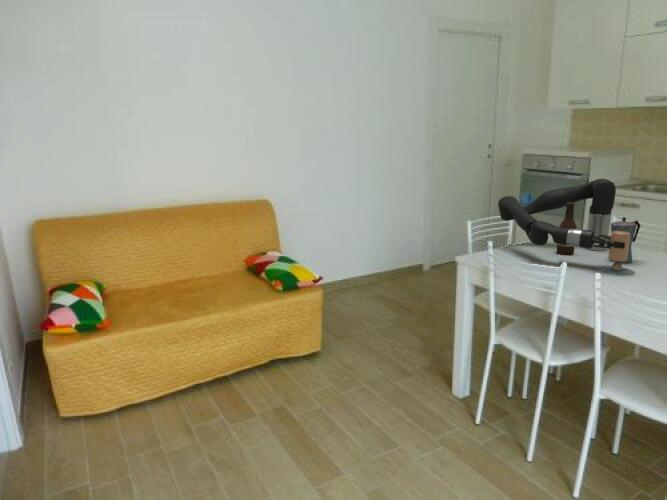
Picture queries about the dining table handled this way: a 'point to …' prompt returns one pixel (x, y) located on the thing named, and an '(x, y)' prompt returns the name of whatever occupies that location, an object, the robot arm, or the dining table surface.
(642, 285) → the dining table surface
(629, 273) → the plate
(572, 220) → the beer bottle
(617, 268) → the ball
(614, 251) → the cup
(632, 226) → the moka pot
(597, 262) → the dining table surface
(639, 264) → the dining table surface
